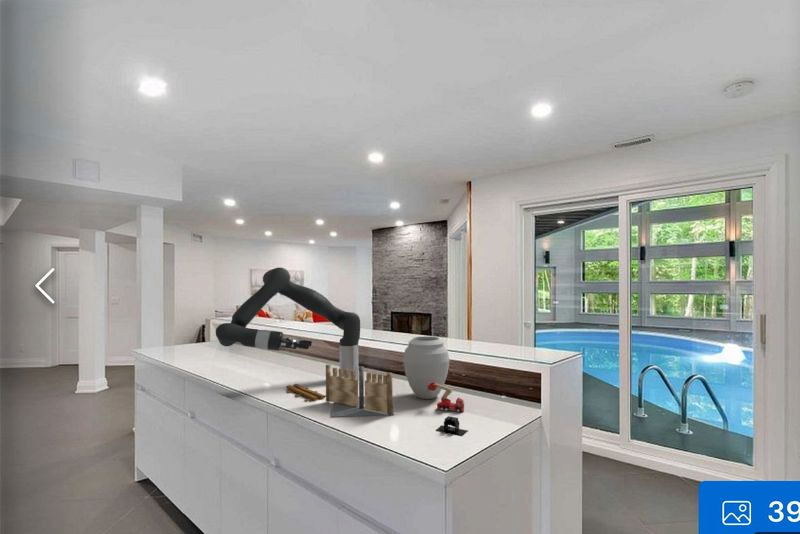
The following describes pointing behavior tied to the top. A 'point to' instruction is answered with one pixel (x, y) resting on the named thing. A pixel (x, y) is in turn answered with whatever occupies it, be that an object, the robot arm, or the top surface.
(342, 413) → the mat
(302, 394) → the decorative fence
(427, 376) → the vase
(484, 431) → the top surface
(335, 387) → the fence panel
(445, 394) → the toy fire truck
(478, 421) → the top surface
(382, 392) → the fixed fence
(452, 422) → the black arched bracket
